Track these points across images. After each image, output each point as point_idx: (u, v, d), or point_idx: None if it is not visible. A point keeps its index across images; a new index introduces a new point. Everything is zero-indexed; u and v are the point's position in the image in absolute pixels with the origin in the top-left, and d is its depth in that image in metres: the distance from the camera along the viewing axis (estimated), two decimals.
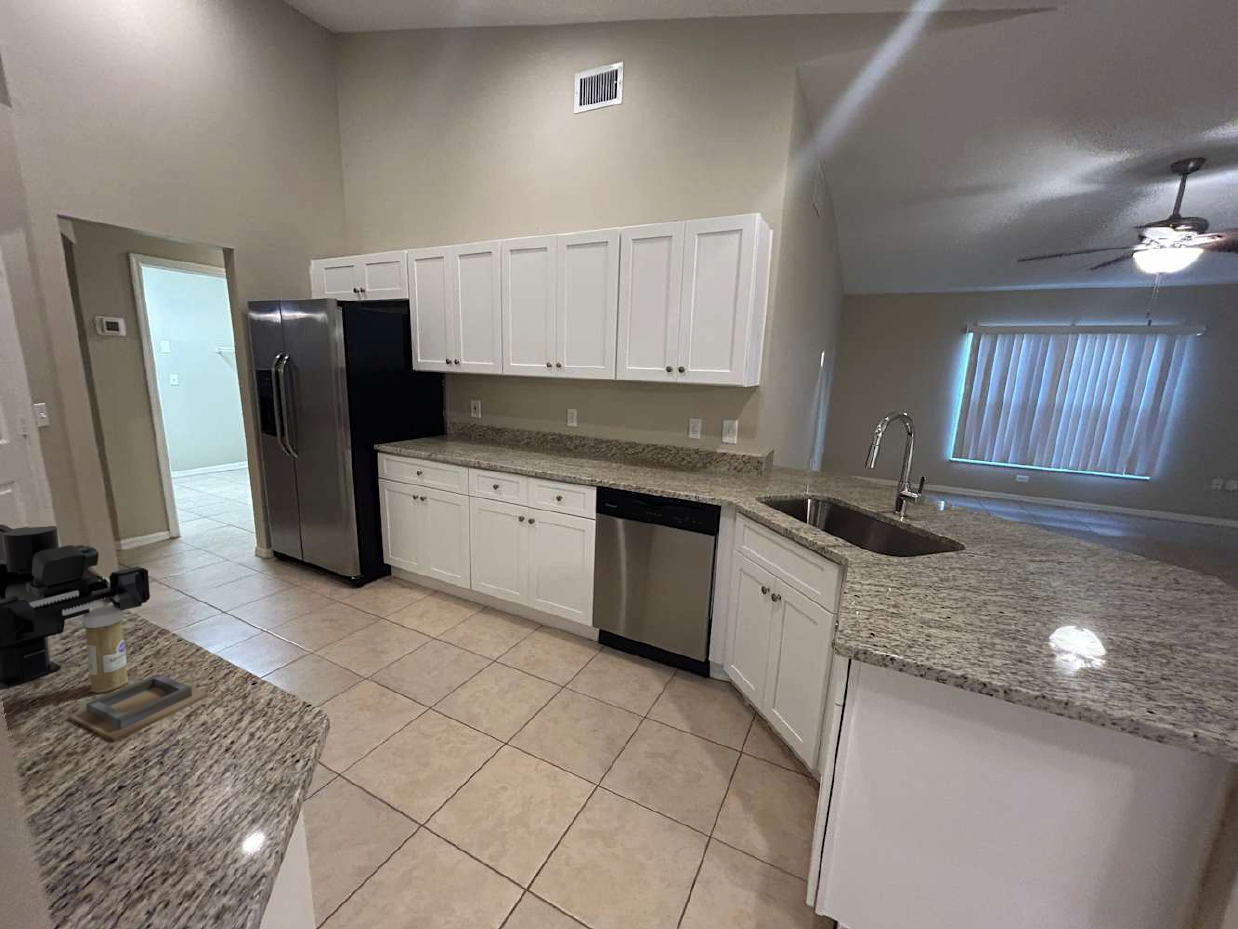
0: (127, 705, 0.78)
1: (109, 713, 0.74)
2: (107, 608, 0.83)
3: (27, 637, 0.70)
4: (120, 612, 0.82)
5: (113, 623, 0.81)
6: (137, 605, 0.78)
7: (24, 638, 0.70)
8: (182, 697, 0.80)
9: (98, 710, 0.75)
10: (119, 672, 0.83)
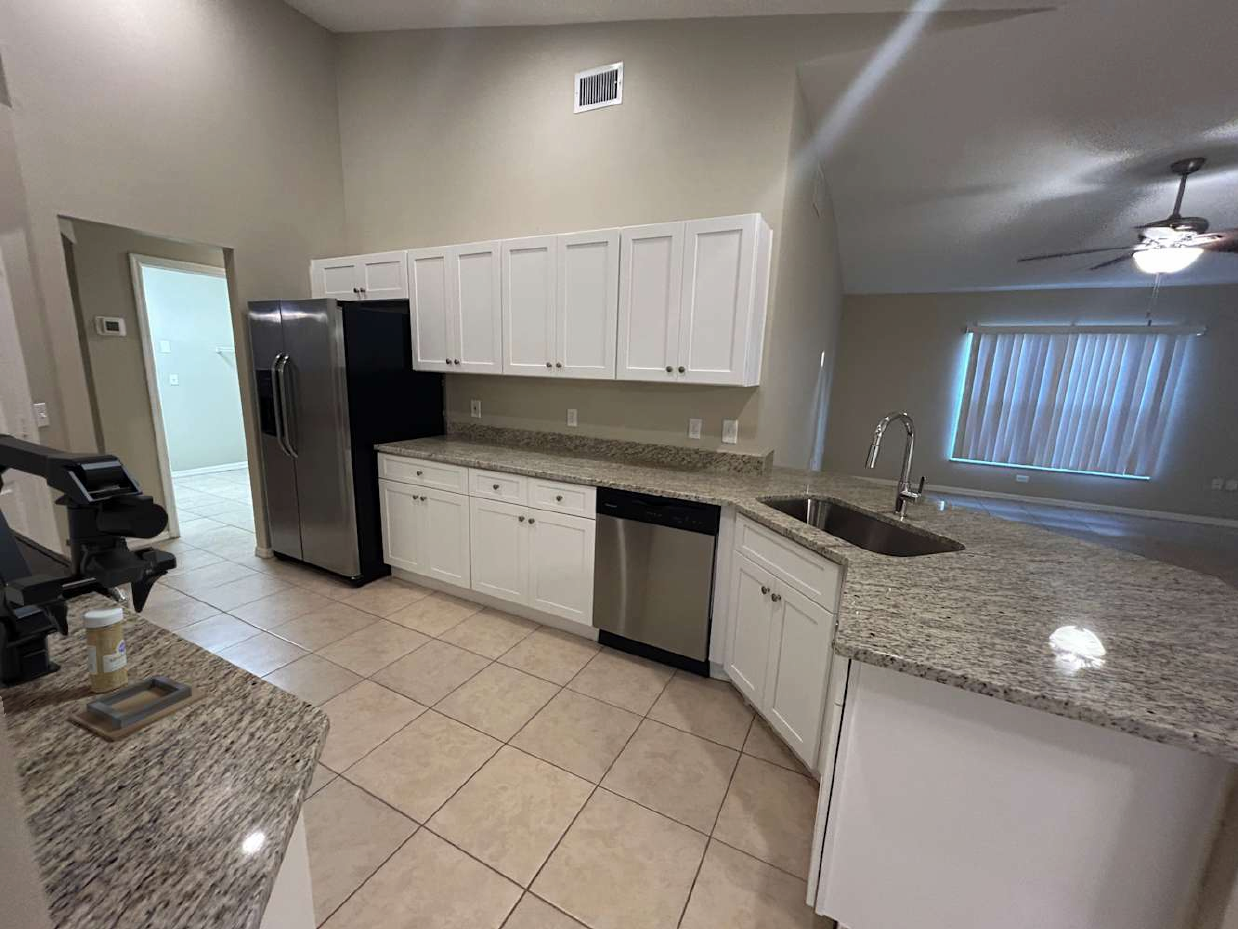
0: (127, 705, 0.78)
1: (109, 713, 0.74)
2: (107, 608, 0.83)
3: (41, 609, 0.76)
4: (120, 611, 0.82)
5: (113, 623, 0.81)
6: (135, 610, 0.86)
7: (38, 607, 0.76)
8: (182, 697, 0.80)
9: (98, 710, 0.75)
10: (119, 672, 0.83)
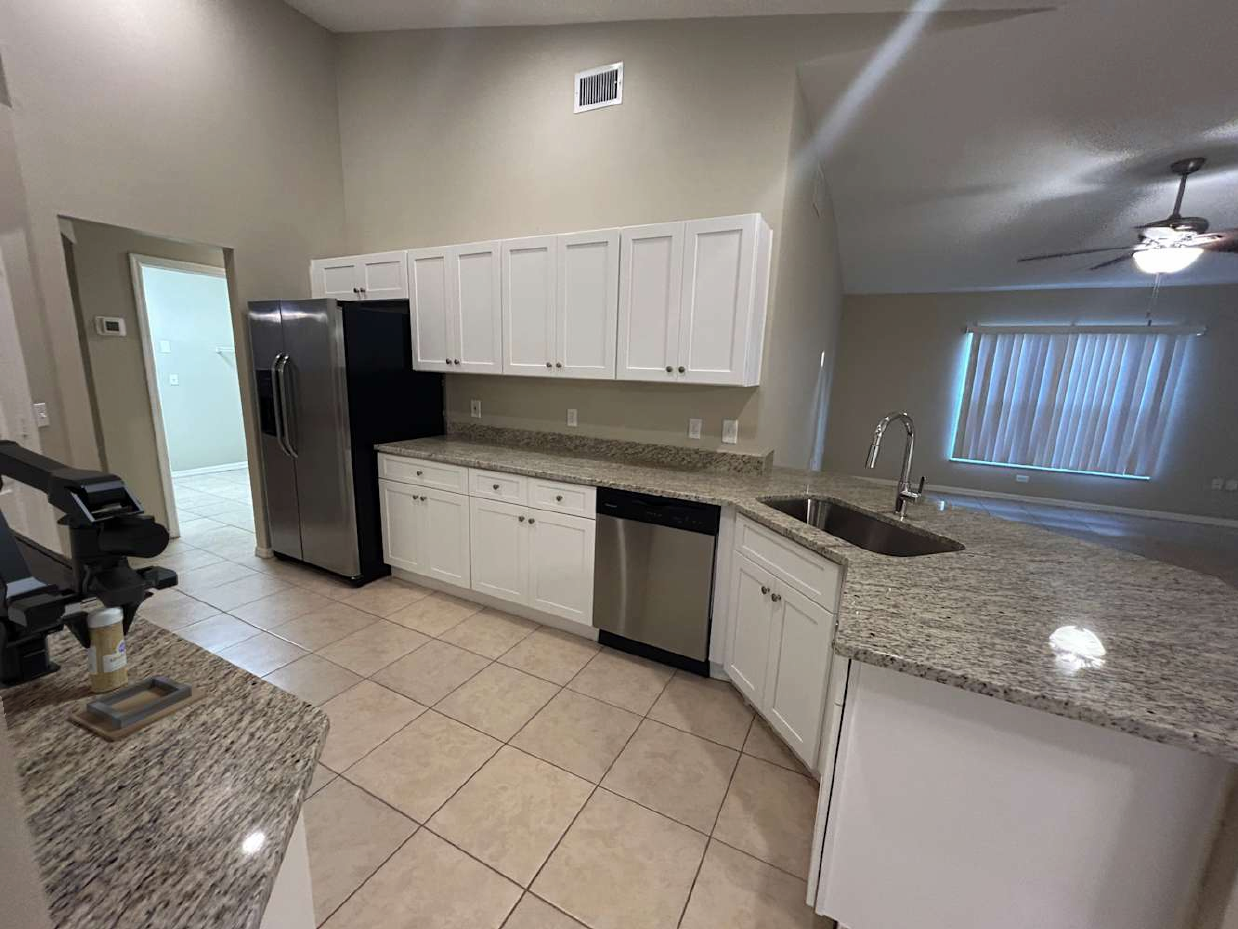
0: (127, 705, 0.78)
1: (109, 713, 0.74)
2: (107, 608, 0.83)
3: (64, 623, 0.79)
4: (120, 611, 0.82)
5: (113, 623, 0.81)
6: None
7: None
8: (182, 697, 0.80)
9: (98, 710, 0.75)
10: (119, 672, 0.83)
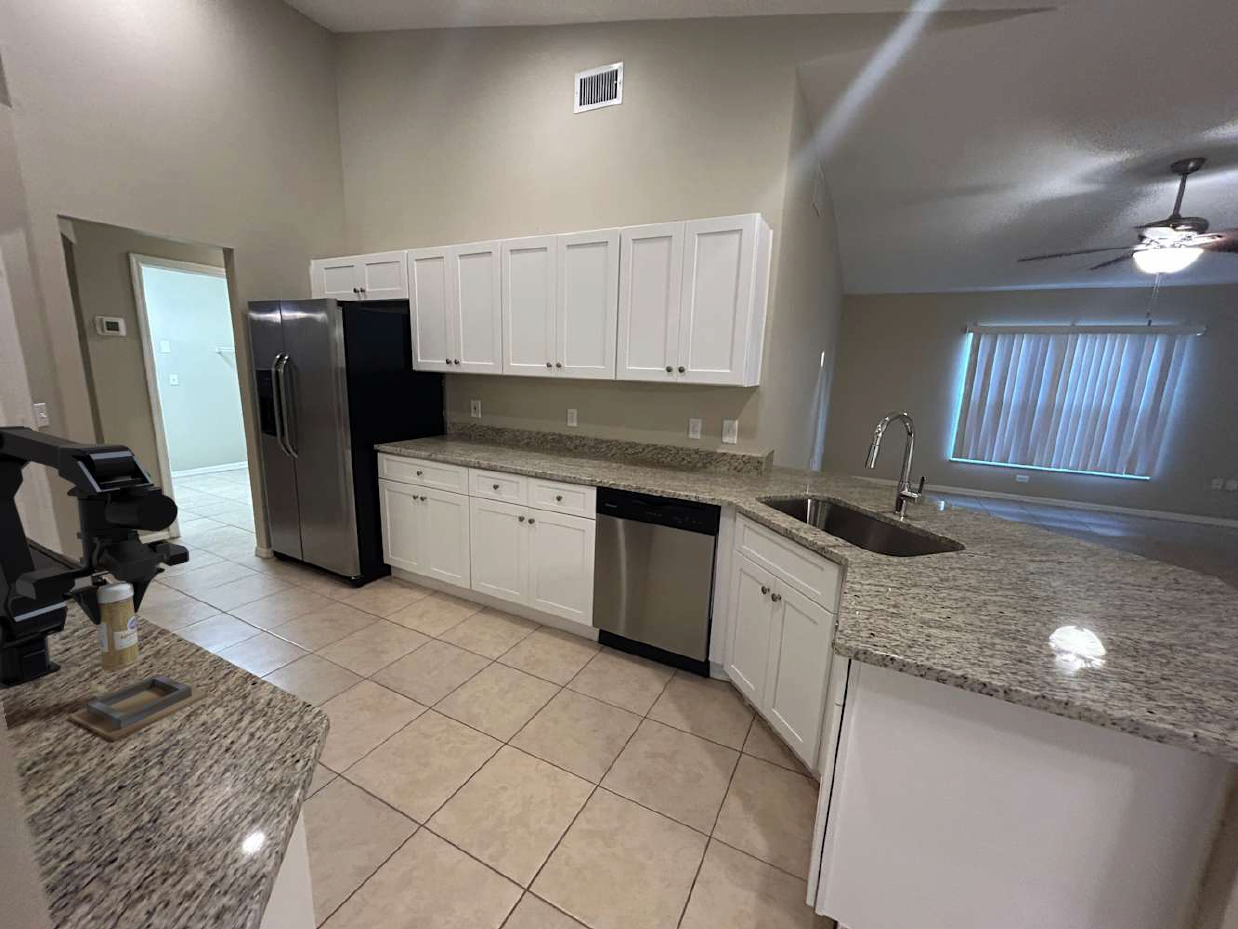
0: (127, 705, 0.78)
1: (109, 713, 0.74)
2: (117, 584, 0.80)
3: (73, 598, 0.76)
4: (131, 587, 0.80)
5: (124, 599, 0.79)
6: None
7: (71, 596, 0.76)
8: (182, 697, 0.80)
9: (98, 710, 0.75)
10: (130, 650, 0.80)
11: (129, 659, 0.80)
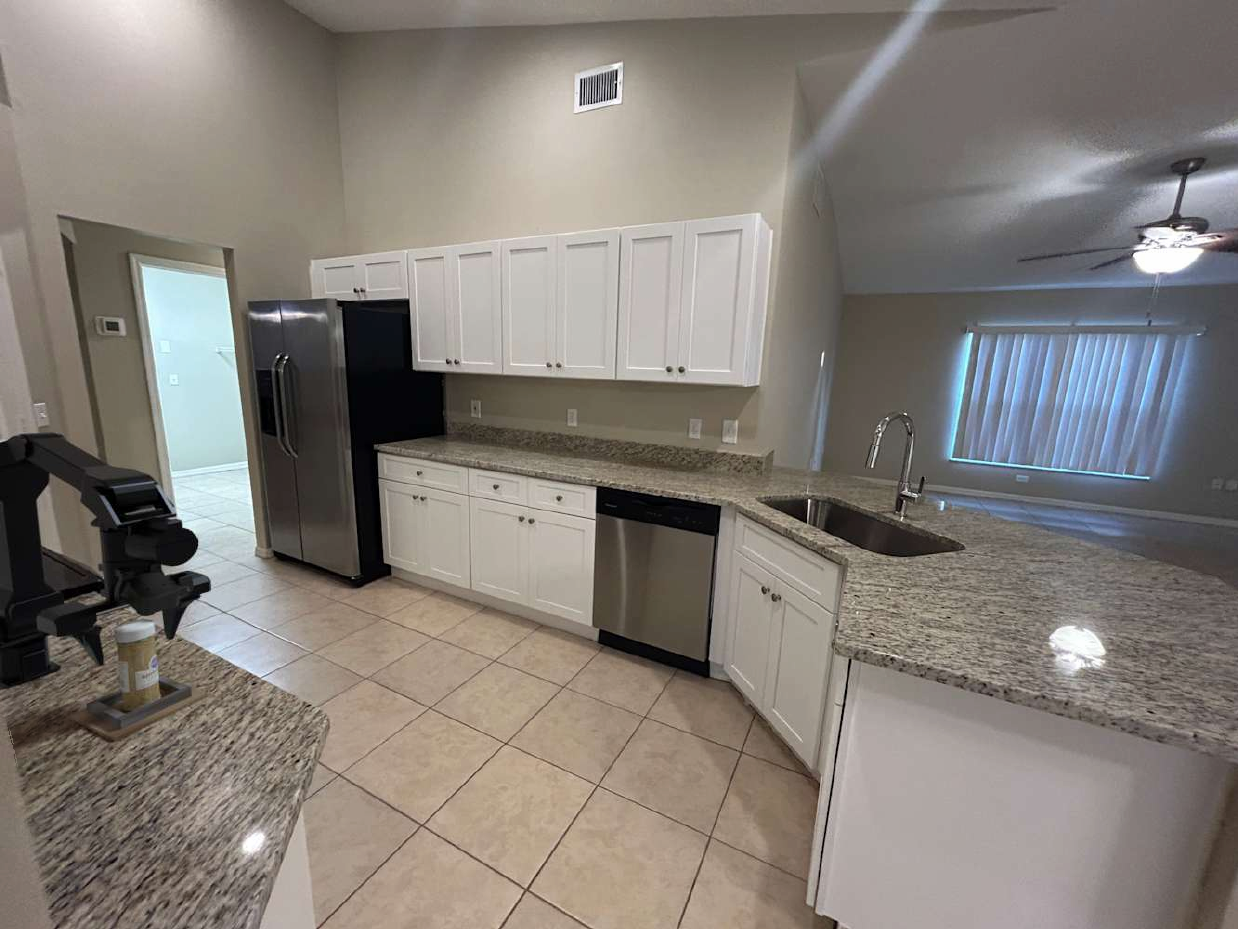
0: None
1: (109, 713, 0.74)
2: (138, 621, 0.78)
3: (75, 638, 0.72)
4: (153, 625, 0.78)
5: (146, 637, 0.77)
6: (166, 637, 0.81)
7: None
8: (182, 697, 0.80)
9: (98, 710, 0.75)
10: (151, 689, 0.78)
11: (150, 699, 0.78)
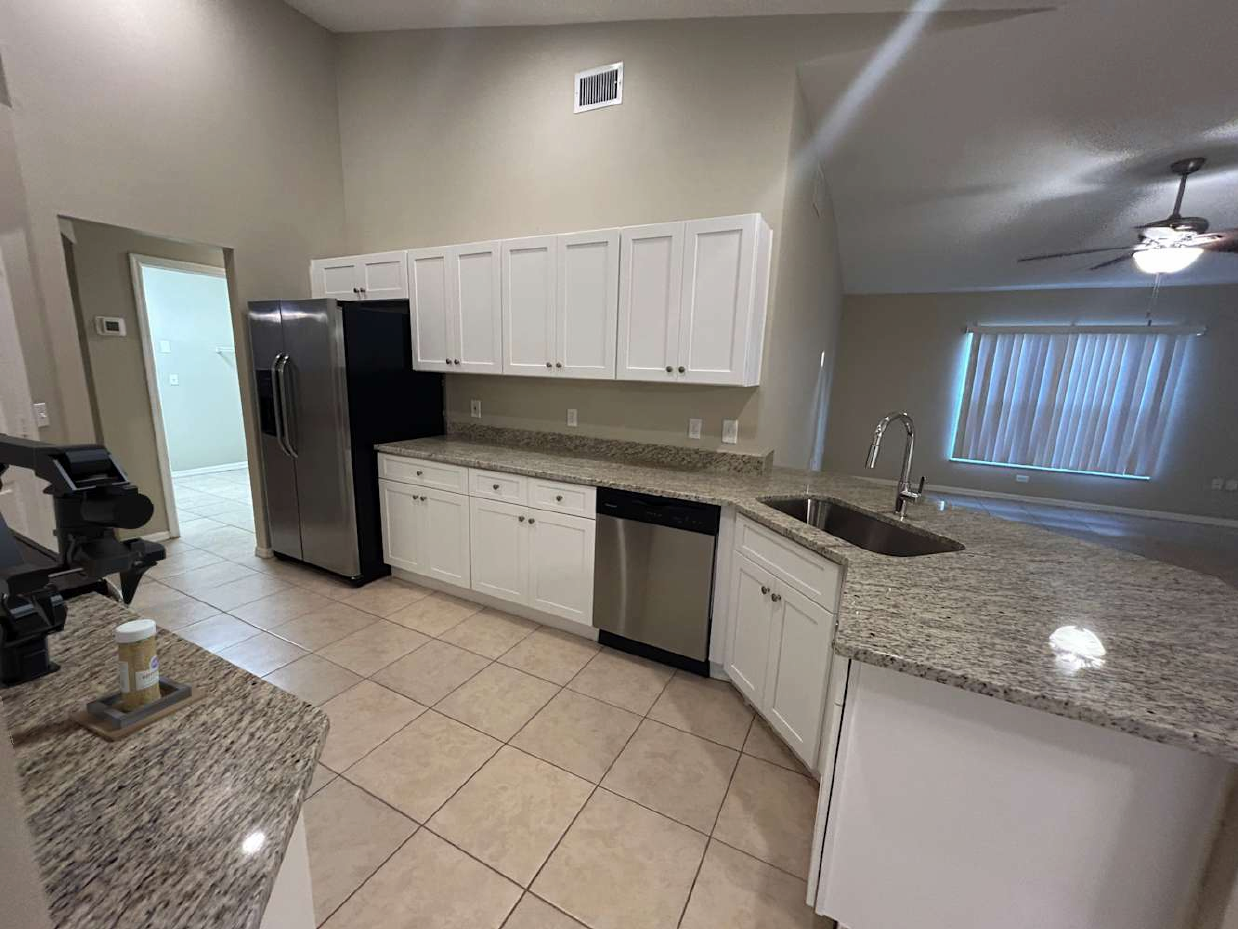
0: None
1: (109, 713, 0.74)
2: (139, 621, 0.78)
3: (27, 600, 0.75)
4: (153, 625, 0.78)
5: (146, 638, 0.77)
6: (124, 602, 0.85)
7: (25, 598, 0.75)
8: (182, 697, 0.80)
9: (98, 710, 0.75)
10: (151, 690, 0.78)
11: (150, 699, 0.78)
